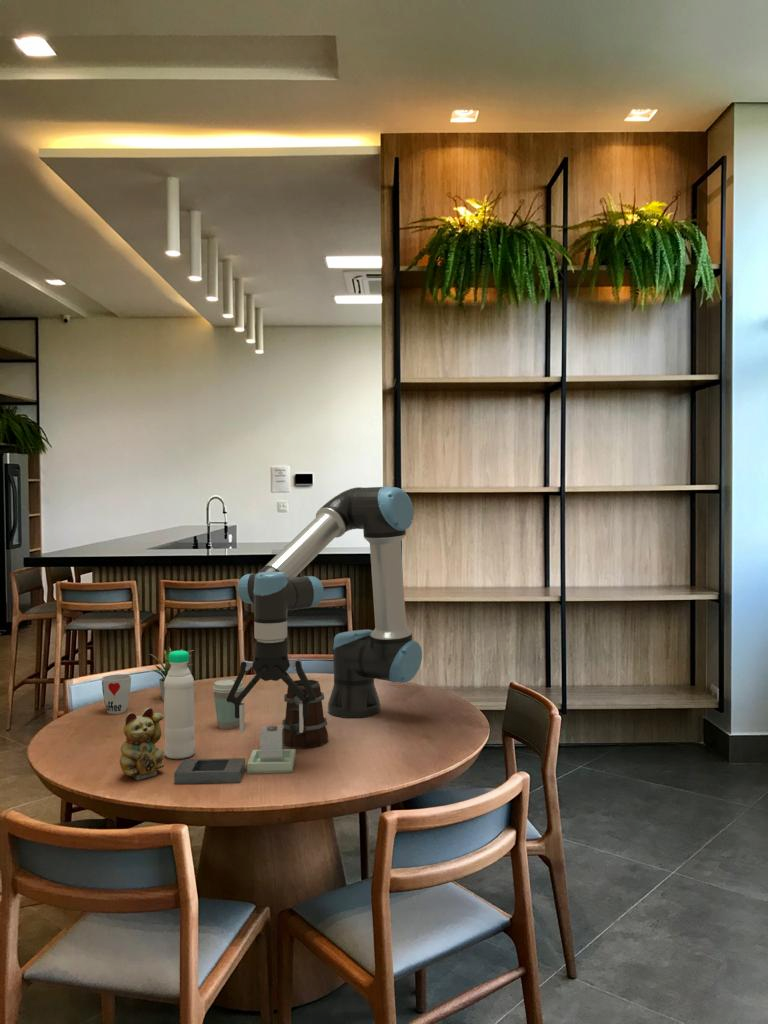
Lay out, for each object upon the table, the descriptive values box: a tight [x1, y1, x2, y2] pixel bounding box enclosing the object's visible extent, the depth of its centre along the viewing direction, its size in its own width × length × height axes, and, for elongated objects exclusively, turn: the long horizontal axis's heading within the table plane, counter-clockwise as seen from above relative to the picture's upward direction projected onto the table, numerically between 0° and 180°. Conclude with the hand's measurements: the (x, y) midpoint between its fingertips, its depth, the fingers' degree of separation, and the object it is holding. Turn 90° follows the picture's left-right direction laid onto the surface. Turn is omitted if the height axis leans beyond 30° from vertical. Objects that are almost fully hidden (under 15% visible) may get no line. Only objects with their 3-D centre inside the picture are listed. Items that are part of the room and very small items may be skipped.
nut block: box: [259, 724, 285, 762], centre depth 183 cm, size 5×5×8 cm
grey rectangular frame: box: [173, 757, 246, 785], centre depth 177 cm, size 14×9×2 cm, turn 92°
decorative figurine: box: [119, 707, 165, 781], centre depth 178 cm, size 10×8×15 cm
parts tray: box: [246, 748, 296, 775], centre depth 183 cm, size 10×10×2 cm
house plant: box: [149, 646, 195, 702], centre depth 245 cm, size 14×14×16 cm
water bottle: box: [163, 650, 196, 760], centre depth 191 cm, size 7×7×25 cm
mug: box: [281, 679, 329, 749], centre depth 199 cm, size 16×12×15 cm
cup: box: [101, 673, 132, 715], centre depth 231 cm, size 8×8×10 cm
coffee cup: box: [212, 678, 245, 730], centre depth 216 cm, size 8×9×12 cm
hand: (271, 731), depth 183 cm, fingers open, 13 cm apart
